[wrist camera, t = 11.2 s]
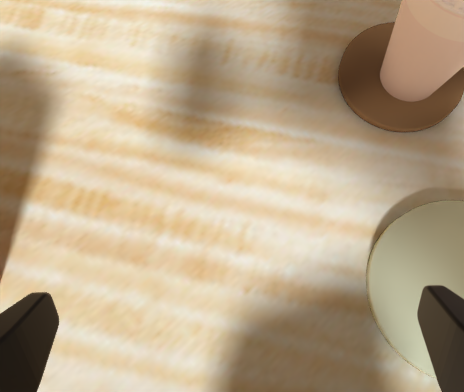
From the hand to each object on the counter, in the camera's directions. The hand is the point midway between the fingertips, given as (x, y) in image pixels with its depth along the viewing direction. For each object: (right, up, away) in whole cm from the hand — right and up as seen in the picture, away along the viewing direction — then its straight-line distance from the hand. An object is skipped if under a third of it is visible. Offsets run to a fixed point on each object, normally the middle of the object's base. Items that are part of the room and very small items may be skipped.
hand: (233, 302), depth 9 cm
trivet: (+11, +11, +17) cm, 23 cm away
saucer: (+13, -3, +13) cm, 18 cm away
